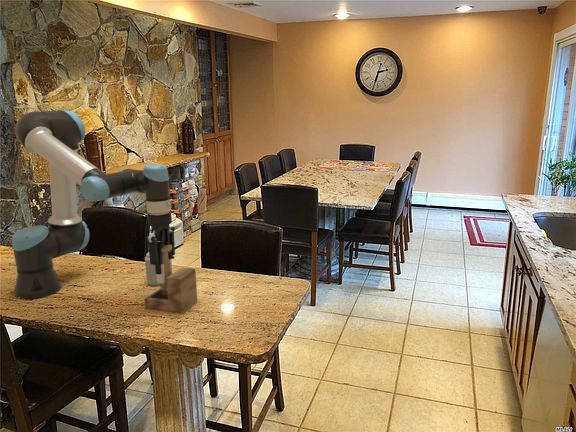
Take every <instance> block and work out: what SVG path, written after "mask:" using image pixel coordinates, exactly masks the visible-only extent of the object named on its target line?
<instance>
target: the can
mask: <svg viewBox="0 0 576 432" xmlns="http://www.w3.org/2000/svg"><path fill="white" fill-rule="evenodd" d="M144 262H145V275H146V283H147V284H149V285H150V286H152V287H158V286H160V283H157V278H156V270H155V265H152V264H150V257H149V252H147V253H146V256H145V257H144Z"/></svg>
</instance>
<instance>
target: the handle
mask: <svg viewBox="0 0 576 432" xmlns="http://www.w3.org/2000/svg"><path fill="white" fill-rule="evenodd" d="M161 250H162V264H164V273H165V283H160V285H159V286H160V288H161V289H163V290H167V279H166V278H167V277H168V276H170V275H171V272H170V265H169V258H168V252H170V251H171V250H172V245H163V247H162V249H161ZM171 252H172V251H171Z"/></svg>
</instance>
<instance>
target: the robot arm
mask: <svg viewBox="0 0 576 432" xmlns="http://www.w3.org/2000/svg"><path fill="white" fill-rule="evenodd" d="M14 131H15V132H14V133H15V136H16V139H17V141H18V142H19V144H20V145H21V146H22V147H23V149H26V150H27V151H28V152H30V153H32V154H38V155H39V156H40V157H41V158H43V159H44V160H45V161H47V162H48V167H49V168H48V169H49V181H50V184H49V185H50V186H49V187H50V200H51V202H50V203H51V217H49V218H48V220H47V222H48V223H47V224H48V225H47V226H46V225H41V224H40V225H33V226H28V227H25V228H22V229H20V230H18V231H16V232H15V233H13V236H12V239H11V240H12V241H11V243H12V244H11V245H12V250H13V255H14V261H15V268H16V273H17V275H16V282H15V286H14V289H13V291H14V296H15V295H16V296H17V297H16V296H15V297H16V298H18V297H20V298H19V299H21V298H34V299H37V298H36V297H40V298H43V296H45V297H48V296H50V294H51V295H53V294H55V293H58V292H59V291H60V290H61V289H62V283H61V280H60V278H59V276H58V274H57V272H56V270H55V269H54V264H53V259H56V258H60V257H62V256H66V255H69V254H73V253H77V252H78V251H80V250H83V249H84V248H85V247H86V246H87V245H88V243H89V240H90V230H89V228H88V225H87V224H86V222H85V221H83V219H82V217H81V216H79V215H78V203H77V185H78V186H79V191H80V193H81V195H82V196H83V199H85V200H86V201H88V202H92V203H93V202H101V201H104V200H108V199H113V198H117V197H122V196H125V195H129V194H137V193H138V194H145V204H146V213H147V215H146V217H147V224H148V225H149V227H150V228H151V229H150V233H151V234H150V235H147V236H146V242H147V247H148V253H149V257H150V264H152V265H155V270H156V278H157V283H165V273H164V264H162V250H161V249H162V247H163V245H172V250H171V251H170V252H168V258H169V265H170V272H171V274H173V267H172V266H173V264H172V260H174V259H175V255H176V252H175V251H176V250H175V245H176V244H175V230H176V229H175V227H176V226H175V227H174V226H170V225H171V224H172V222H173V220H172V218H173V217H172V212H171V210H172V207H171V205H172V204H171V195H170V182H169V181H170V177H169V172H168V167H167V166H166V165H165V164H161V163H159V164H158V163H153V164H146V165H144V166H143V169H134V168H133V169H132V168H122V169H120V170H119V171H117V172H111V173H105V172H103V170H100V169H99V168H98V167H97V166H95V165H94V164H92V163H91V162H89V160H87V159H85V158H84V157H83V156H82V155H80V154H79V153H77V151H78V150H79V148H80V147H79V144H80V143H81V142H82V141H84V138H86V127H85V124H84V122H83V120H82V119H81V117H80V115H78V114H77V113H76V112H74V111H71V110H61V109H60V110H40V111H39V110H35V111H29V112H26V113H24V114H23V115H22V116H20V117H19V118H18V120H17V122H16V124H15V129H14ZM47 295H48V296H47Z"/></svg>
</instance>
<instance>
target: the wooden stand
mask: <svg viewBox="0 0 576 432" xmlns="http://www.w3.org/2000/svg"><path fill="white" fill-rule="evenodd" d="M166 279H167V290H163V289H161V287H160V288H159V289H157V290H155V291H154V292H153V293H151V294H150V295H148V296H147V297H145V298H144V305H145V310H151V311H159V312H167V313H174V314H181V315H183V314H185V312H187V311H188V310H189V309H191V308H192V307H193V306H194V305H196V303H198V292H197V291H198V289H197V274H196V268H189V267H183V266H182V267H181V268H179V269H178V270H176V271H175V272H172V274H171V275H170V276H168V277H167V278H166Z"/></svg>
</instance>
